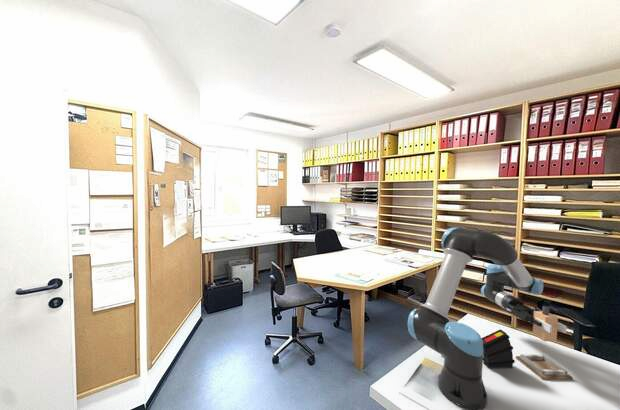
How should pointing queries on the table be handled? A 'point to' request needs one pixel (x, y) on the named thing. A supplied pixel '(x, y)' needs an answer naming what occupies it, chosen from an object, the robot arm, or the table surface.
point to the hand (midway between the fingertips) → (558, 329)
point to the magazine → (497, 350)
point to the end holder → (544, 367)
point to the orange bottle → (550, 320)
